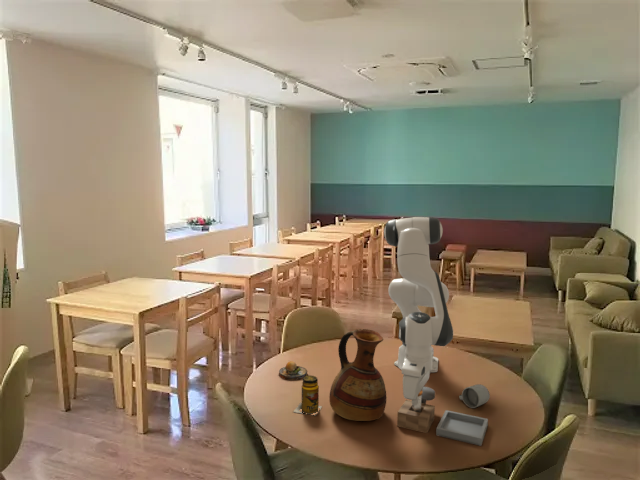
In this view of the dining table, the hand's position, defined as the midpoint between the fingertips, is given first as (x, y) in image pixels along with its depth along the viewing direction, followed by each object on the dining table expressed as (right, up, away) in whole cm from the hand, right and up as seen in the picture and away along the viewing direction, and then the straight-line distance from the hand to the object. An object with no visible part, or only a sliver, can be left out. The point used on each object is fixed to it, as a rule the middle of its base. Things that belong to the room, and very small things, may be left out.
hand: (416, 401), depth 167 cm
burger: (-44, -2, +41) cm, 60 cm away
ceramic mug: (+24, -6, +16) cm, 29 cm away
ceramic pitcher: (-19, -7, +7) cm, 22 cm away
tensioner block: (+2, -7, +5) cm, 9 cm away
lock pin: (0, -8, +1) cm, 8 cm away
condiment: (-37, -6, +10) cm, 39 cm away
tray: (+14, -8, -4) cm, 17 cm away
